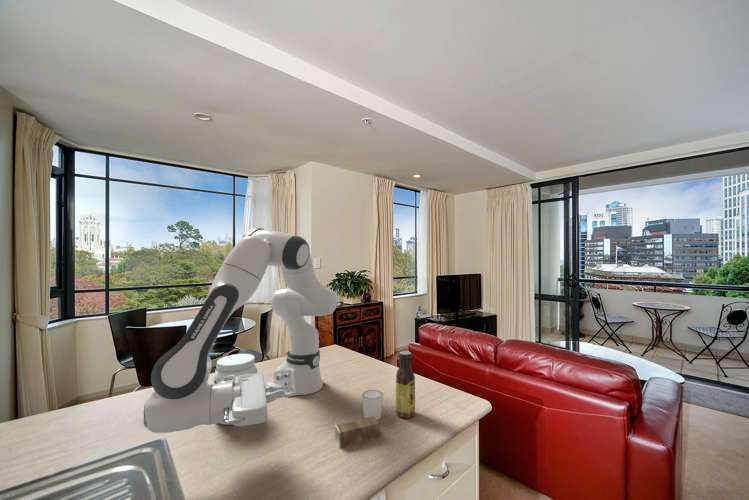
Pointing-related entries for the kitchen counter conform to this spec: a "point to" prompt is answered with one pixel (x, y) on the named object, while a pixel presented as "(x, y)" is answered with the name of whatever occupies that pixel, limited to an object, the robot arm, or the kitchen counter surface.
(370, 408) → the white tapered cylinder
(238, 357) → the supplement tub
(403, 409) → the sauce bottle
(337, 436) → the walnut block
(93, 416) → the kitchen counter surface
